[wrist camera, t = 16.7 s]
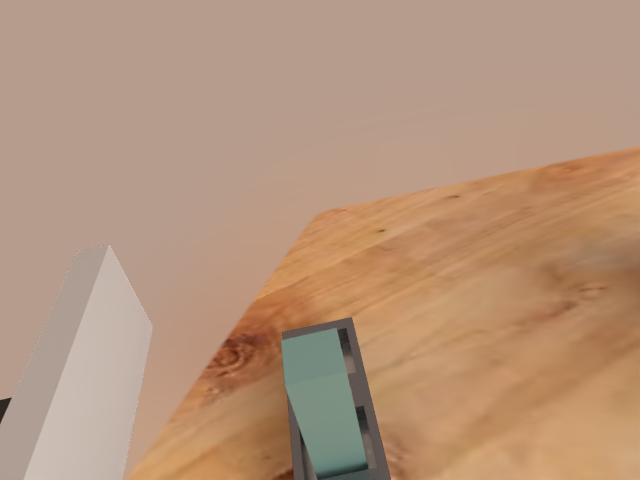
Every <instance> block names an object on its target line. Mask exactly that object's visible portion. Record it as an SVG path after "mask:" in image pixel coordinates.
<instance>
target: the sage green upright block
mask: <svg viewBox="0 0 640 480" xmlns="http://www.w3.org/2000/svg"><path fill="white" fill-rule="evenodd" d="M281 348H282V359H283V370H284V381H285V388H286V390H287V393H288V396H289V399H290V402H291V405H292V408H293V411H294V413H295V416H296V419H297V422H298V425H299V428H300V431H301V434H302V436H303V439H304V442H305V445H306V448H307V451H308V454H309V457H310V460H311V462H312V465H313V468H314V471H315V474H316V477H317V480H321V479H325V478H330V477H335V476H339V475H344V474H348V473H353V472H358V471H362V470H367V469H369V468H368V464H367V459H366V454H365V450H364V445H363V440H362V436H361V431H360V427H359V422H358V418H357V414H356V410H355V405H354V401H353V397H352V392H351V388H350V384H349V379H348V375H347V371H346V366H345V362H344V358H343V353H342V349H341V345H340V341H339V336H338V332H337V328H334V329H329V330H325V331H320V332H316V333H311V334H307V335H302V336H298V337H294V338H289V339H285V340H281Z"/></svg>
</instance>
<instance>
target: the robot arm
mask: <svg viewBox="0 0 640 480" xmlns="http://www.w3.org/2000/svg"><path fill="white" fill-rule="evenodd" d="M152 330H153V327H152V325H151V323H150V321H149V319H148V317H147V315H146V313H145V311H144V309H143V308H142V306H141V304H140V302H139V300H138V298H137V296H136V294H135V292H134V290H133V289H132V287H131V285H130V283H129V281H128V279H127V277H126V276H125V273H124V272H123V270H122V268H121V266H120V264H119V262H118V260H117V258H116V256H115V254H114V252H113V251H112V249H111V247H110V245H109V244H108V245H103V246H99V247H94V248H90V249H85V250H81V251H77V252H76V254H75V256H74V259H73V261H72V263H71V266H70V268H69V270H68V272H67V275H66V277H65V279H64V281H63V284H62V286H61V288H60V290H59V293H58V295H57V297H56V299H55V302H54V304H53V306H52V309H51V311H50V313H49V315H48V317H47V320H46V322H45V324H44V326H43V329H42V331H41V333H40V336H39V338H38V340H37V342H36V345H35V347H34V349H33V351H32V354H31V356H30V358H29V360H28V363H27V365H26V367H25V370H24V372H23V374H22V376H21V378H20V381H19V383H18V385H17V387H16V390H15V392H14V394H13V396H12V398H8V399H4V400H0V480H123V475H124V470H125V465H126V460H127V454H128V449H129V445H130V440H131V435H132V430H133V425H134V419H135V415H136V410H137V404H138V400H139V395H140V390H141V385H142V380H143V375H144V370H145V365H146V360H147V355H148V350H149V345H150V340H151V335H152Z"/></svg>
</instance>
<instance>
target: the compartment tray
mask: <svg viewBox="0 0 640 480" xmlns="http://www.w3.org/2000/svg"><path fill="white" fill-rule="evenodd" d="M334 328H337V332H338V336H339V341H340V345H341V349H342V353H343V358H344V362H345V366H346V371H347V375H348V379H349V384H350V388H351V392H352V397H353V401H354V405H355V410H356V414H357V418H358V422H359V427H360V431H361V436H362V440H363V445H364V450H365V454H366V459H367V464H368V468H369V469H367V470H362V471H358V472H353V473H348V474H344V475H339V476H335V477H330V478H325V479H321V480H391V478H390V473H389V469H388V465H387V461H386V457H385V453H384V449H383V444H382V440H381V436H380V432H379V428H378V424H377V420H376V415H375V411H374V407H373V403H372V399H371V395H370V391H369V386H368V382H367V378H366V374H365V370H364V366H363V362H362V357H361V353H360V349H359V345H358V341H357V337H356V333H355V328H354V324H353V320H352V317H350V318H346V319H341V320H337V321H332V322H327V323H323V324H318V325H314V326H309V327H304V328H300V329H295V330H291V331H286V332H282V337H283V340H285V339H289V338H294V337H298V336H302V335H307V334H311V333H316V332H320V331H325V330H329V329H334ZM287 398H288V411H289V423H290V435H291V447H292V459H293V472H294V480H317V477H316V474H315V471H314V468H313V465H312V462H311V460H310V457H309V454H308V451H307V448H306V445H305V442H304V439H303V436H302V434H301V431H300V428H299V425H298V422H297V419H296V416H295V413H294V411H293V408H292V405H291V402H290V399H289V396H288V393H287Z"/></svg>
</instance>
